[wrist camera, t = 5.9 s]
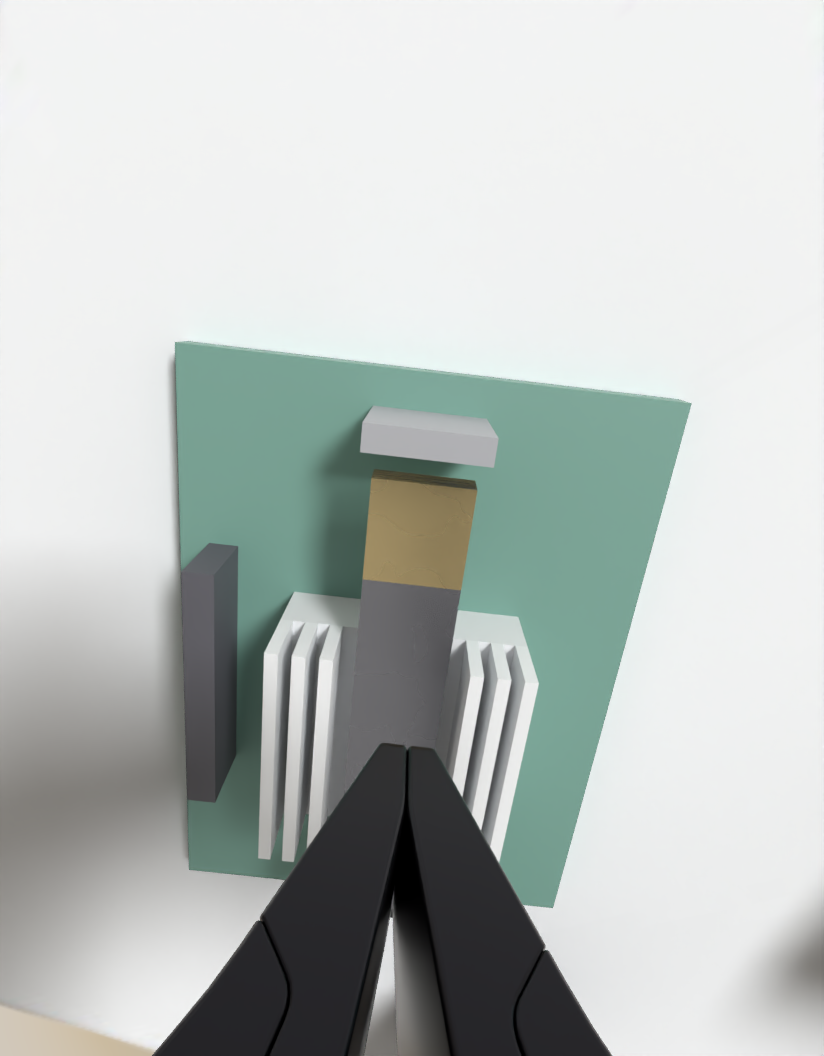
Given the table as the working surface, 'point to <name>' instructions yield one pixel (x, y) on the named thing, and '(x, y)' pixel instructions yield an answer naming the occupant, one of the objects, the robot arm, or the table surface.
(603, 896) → the table surface
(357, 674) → the gold-tipped grey bar
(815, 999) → the table surface
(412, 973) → the robot arm
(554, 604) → the board
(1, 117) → the table surface
